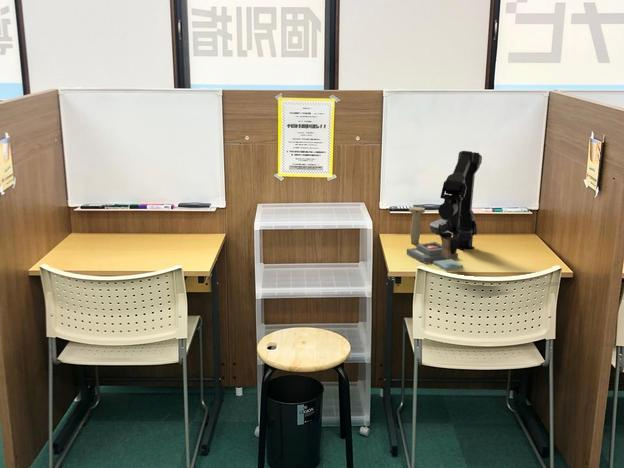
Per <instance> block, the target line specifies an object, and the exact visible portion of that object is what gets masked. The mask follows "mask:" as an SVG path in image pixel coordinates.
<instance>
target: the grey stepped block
mask: <svg viewBox="0 0 624 468" xmlns="http://www.w3.org/2000/svg"><path fill="white" fill-rule="evenodd" d="M429 245H433V246H437V247H438V249H429V248H427V246H429ZM441 248H442V243H439V242H436V241H432V242H425V243H424V242H423V243H418V244H416V247H414V248H406V255H408V256H409V257H412V258H414V259H415V260H417V261H419V262H421V263H423V264H425V263H426V264H428V263H433V261H439V260H446V259H447V258H445V257H443V256H441ZM448 259H452V260H455V259H459V252H456V257H455V258H448Z"/></svg>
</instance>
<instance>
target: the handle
mask: <svg viewBox="0 0 624 468" xmlns="http://www.w3.org/2000/svg"><path fill="white" fill-rule="evenodd" d="M408 211H409V212H410V213H411V214H412V217H411V226H410V243H411V244H414V245H417V244H420V243H419V242H420V238H421V222H422V221H421V216H422V214H424V213H426V212H425V211H426V209H425V207H419V206H410V207H409V208H408Z"/></svg>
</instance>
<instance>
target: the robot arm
mask: <svg viewBox="0 0 624 468" xmlns="http://www.w3.org/2000/svg"><path fill="white" fill-rule="evenodd" d="M482 160H483V156H482V154H480V153H479V152H474V151H471V150H469V151H468V150H460V151H459V152H458V156H457V163H456V165H455V168H454V170H453V173H451V174H449V175H448V176H447V177H446V179H445V181H444V182H443V185H442V190H441V193H440V197H439V198H440V199H444V201H443V202H442V203H441V204H440V206H438V211H437V212H438V215H439V217H440V219H437V220H435V221H434V220H433V221H432V222H431V223H429V227H430V228H429V229H430V232H431V233H432V234H435V235H438V236H439V237H440V239H441V241H442V238H445V237H450V238H448V239H449V240H450V241H451V254H454V253H455V252H456V250H458V249H460V250H461V251H464V250H470V249H475V246H473V242H474V241H473V240H474V236H476V235H477V234H478V224H477V221H476V216H475V213H474V211H473V209H472V208H473V198H474V186H475V177H476V173H477V172H478V171H479V170H480V166H481V164H482V162H483V161H482ZM456 253H457V252H456Z"/></svg>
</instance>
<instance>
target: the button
mask: <svg viewBox="0 0 624 468" xmlns="http://www.w3.org/2000/svg"><path fill="white" fill-rule="evenodd" d="M427 248H429V249H438V247H437V246H433V245H429V246H427Z"/></svg>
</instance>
